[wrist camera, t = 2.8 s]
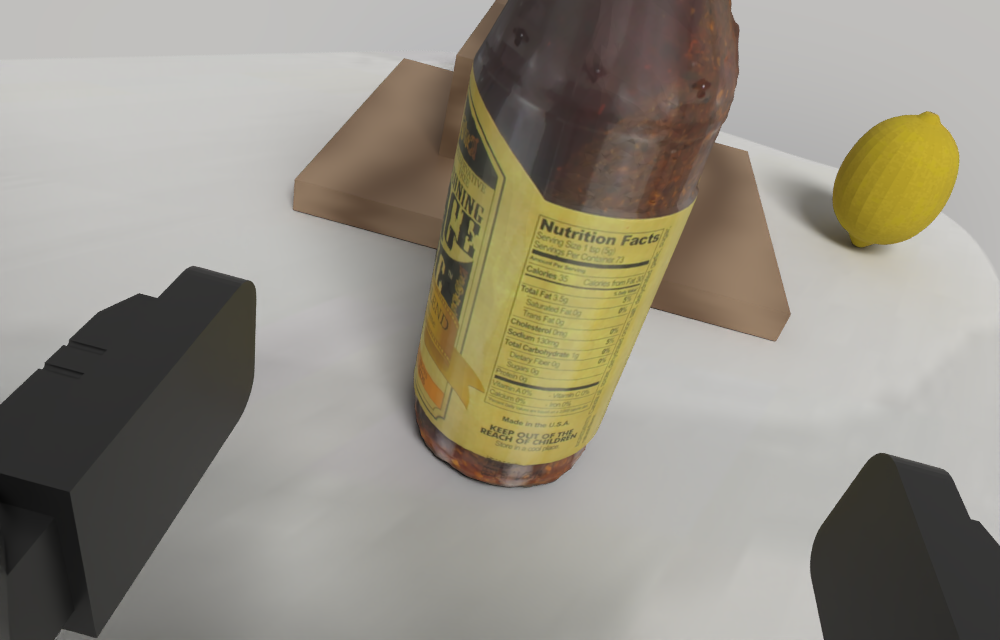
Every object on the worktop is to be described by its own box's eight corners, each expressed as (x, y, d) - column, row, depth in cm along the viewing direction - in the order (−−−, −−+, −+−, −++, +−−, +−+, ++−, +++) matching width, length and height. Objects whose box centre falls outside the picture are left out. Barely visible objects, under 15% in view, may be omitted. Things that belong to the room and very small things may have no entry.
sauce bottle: (438, 345, 28) (586, -345, 17) (599, 399, 28) (866, -273, 16) (373, 469, 23) (523, -414, 12) (570, 537, 23) (934, -310, 11)
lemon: (923, 280, 42) (1012, 145, 37) (830, 265, 41) (909, 124, 36) (879, 228, 46) (953, 102, 41) (794, 213, 45) (860, 82, 40)
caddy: (293, 209, 34) (301, 65, 30) (400, 81, 48) (415, -27, 44) (776, 341, 34) (846, 213, 30) (737, 173, 48) (782, 72, 44)
